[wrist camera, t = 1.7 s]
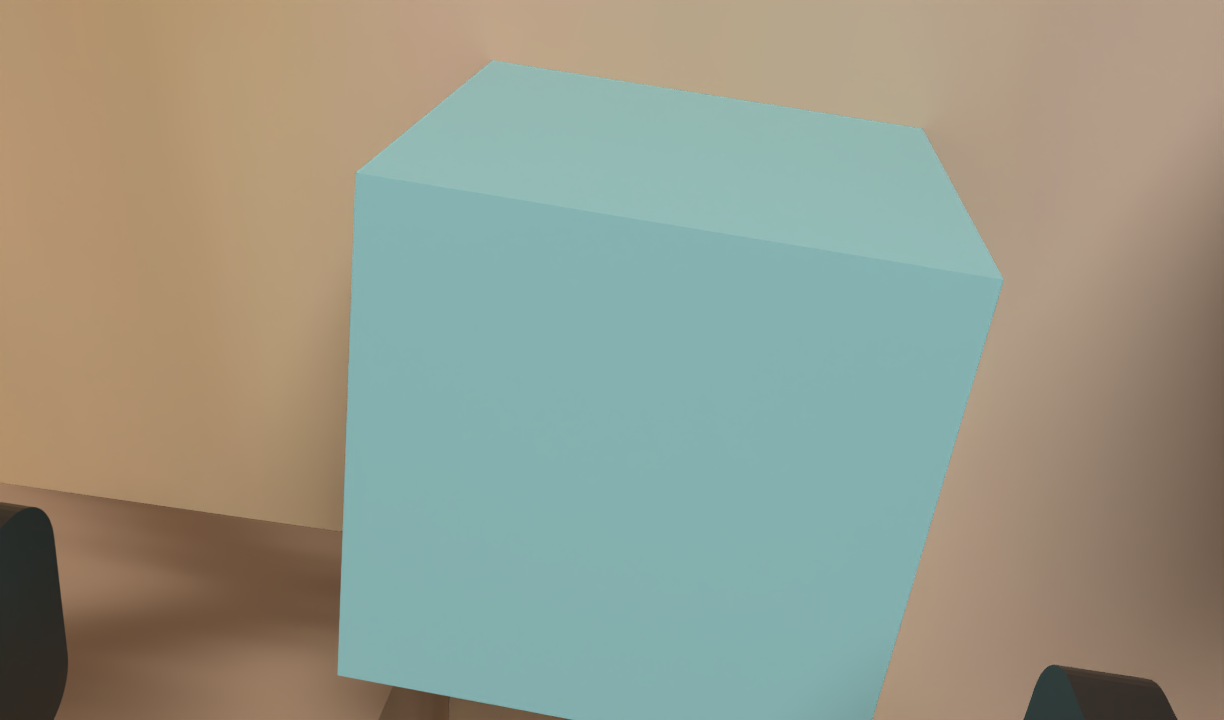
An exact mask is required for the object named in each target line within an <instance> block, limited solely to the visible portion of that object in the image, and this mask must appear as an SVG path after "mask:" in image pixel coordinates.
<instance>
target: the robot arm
mask: <svg viewBox="0 0 1224 720" xmlns="http://www.w3.org/2000/svg"><path fill="white" fill-rule="evenodd" d="M67 673H68V652H67V643H66V634H65V626H64V617H63V608H62V599H61V591H60V582H59V573H58V565H57V556H56V547H55V539H54V532H53V527H52V524H51V521H50V519H49V517H48V516H47V514H46V513H45V512H44V511H43V510H41V509H39V508H37V507H31V506H24V505H18V504H11V503H4V502H0V720H54V718H55V716H56V714H57V711H58V709H59V706H60V703H61V700H62V697H63V694H64V690H65V685H66V680H67ZM1024 720H1177V718H1176V716H1175V714H1174V712H1173V710H1172V708H1171V706H1170V704H1169V702H1168V700H1167V698H1166V696H1165V694H1164V692H1163V691H1162V689H1161V688H1160V687H1159V686H1158V685H1157V683H1155V682H1154V681H1152V680H1149V679H1145V678H1138V677H1131V676H1125V675H1118V674H1112V673H1105V672H1098V671H1092V670H1085V669H1079V668H1072V667H1065V666H1059V665H1051V666H1049V667H1047V668H1046V669H1045V670H1044V671H1043V672H1042V674H1041V675H1040V677H1039V679H1038V681H1037V683H1036V686H1035V688H1034V691H1033V694H1032V697H1031V700H1030V703H1029V706H1028V709H1027V712H1026V715H1025V717H1024Z"/></svg>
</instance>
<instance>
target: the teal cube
mask: <svg viewBox="0 0 1224 720" xmlns="http://www.w3.org/2000/svg"><path fill="white" fill-rule="evenodd" d="M1003 280H1004V279H1003V277H1002V275H1001V274H1000V272H999V270H998V268H997V266H996V264H995V262H994V261H993V259H992V257H991V255H990V253H989V251H988V249H987V248H986V246H985V244H984V242H983V240H982V238H981V236H980V235H979V233H978V231H977V229H976V227H975V225H974V224H973V222H972V220H971V218H970V216H969V214H968V212H967V211H966V209H965V207H964V205H963V203H962V201H961V199H960V198H959V196H958V194H957V192H956V190H955V188H954V186H953V185H952V183H951V181H950V179H949V177H948V175H947V174H946V172H945V170H944V168H943V166H942V164H941V162H940V161H939V159H938V157H937V155H936V153H935V151H934V149H933V148H932V146H931V144H930V142H929V140H928V138H927V136H926V135H925V133H924V131H923V129H922V128H916V127H910V126H904V125H897V124H891V123H885V122H878V121H872V120H866V119H859V118H853V117H847V116H840V115H834V114H828V113H822V112H815V111H809V110H803V109H796V108H790V107H784V106H777V105H771V104H765V103H759V102H752V101H746V100H740V99H733V98H727V97H721V96H714V95H708V94H702V93H695V92H689V91H683V90H677V89H670V88H664V87H658V86H651V85H645V84H639V83H632V82H626V81H620V80H613V79H607V78H601V77H595V76H588V75H582V74H576V73H569V72H563V71H557V70H550V69H544V68H538V67H532V66H525V65H519V64H513V63H506V62H500V61H494V60H492V61H491V62H490V63H489V64H487V65H486V66H485V67H484V68H482V69H481V70H480V71H479V72H478V73H476V74H475V75H474V76H473V77H472V78H470V79H469V80H468V81H467V82H465V83H464V84H463V85H462V86H461V87H459V88H458V89H457V90H456V91H454V92H453V93H452V94H451V95H450V96H448V97H447V98H446V99H445V100H443V101H442V102H441V103H440V104H439V105H437V106H436V107H435V108H434V109H433V110H431V111H430V112H429V113H428V114H426V115H425V116H424V117H423V118H422V119H420V120H419V121H418V122H417V123H415V124H414V125H413V126H412V127H411V128H409V129H408V130H407V131H406V132H405V133H403V134H402V135H401V136H400V137H398V138H397V139H396V140H395V141H394V142H392V143H391V144H390V145H389V146H387V147H386V148H385V149H384V150H383V151H381V152H380V153H379V154H378V155H376V156H375V157H374V158H373V159H372V160H370V161H369V162H368V163H367V164H366V165H364V166H363V167H362V168H361V169H359V170H358V171H357V172H356V176H355V203H354V231H353V259H352V287H351V314H350V342H349V370H348V397H347V425H346V453H345V481H344V508H343V536H342V564H341V592H340V619H339V647H338V675H339V676H344V677H349V678H355V679H360V680H365V681H371V682H376V683H381V684H386V685H392V686H397V687H402V688H408V689H413V690H418V691H423V692H429V693H434V694H439V695H445V696H450V697H455V698H460V699H466V700H471V701H476V702H481V703H487V704H492V705H497V706H503V707H508V708H513V709H518V710H524V711H529V712H534V713H539V714H545V715H550V716H555V717H561V718H566V719H571V720H872V719H873V715H874V712H875V709H876V705H877V702H878V699H879V695H880V692H881V689H882V685H883V682H884V678H885V675H886V672H887V668H888V665H889V662H890V658H891V655H892V652H893V648H894V645H895V642H896V638H897V635H898V632H899V628H900V625H901V622H902V618H903V615H904V612H905V608H906V605H907V602H908V598H909V595H910V591H911V588H912V585H913V581H914V578H915V575H916V571H917V568H918V565H919V561H920V558H921V555H922V551H923V548H924V545H925V541H926V538H927V535H928V531H929V528H930V525H931V521H932V518H933V515H934V511H935V508H936V504H937V501H938V498H939V494H940V491H941V488H942V484H943V481H944V478H945V474H946V471H947V468H948V464H949V461H950V458H951V454H952V451H953V448H954V444H955V441H956V438H957V434H958V431H959V428H960V424H961V421H962V417H963V414H964V411H965V407H966V404H967V401H968V397H969V394H970V391H971V387H972V384H973V381H974V377H975V374H976V371H977V367H978V364H979V361H980V357H981V354H982V351H983V347H984V344H985V341H986V337H987V334H988V330H989V327H990V324H991V320H992V317H993V314H994V310H995V307H996V304H997V300H998V297H999V294H1000V290H1001V287H1002V284H1003Z"/></svg>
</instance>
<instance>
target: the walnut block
mask: <svg viewBox="0 0 1224 720" xmlns="http://www.w3.org/2000/svg"><path fill="white" fill-rule="evenodd" d="M0 502H4V503H11V504H18V505H24V506H31V507H37V508H39V509H41V510H43V511H44V512H45V513H46V514H47V516H48V517H49V519H50V521H51V524H52V527H53V532H54V539H55V547H56V556H57V565H58V573H59V582H60V591H61V599H62V608H63V617H64V626H65V634H66V643H67V652H68V673H67V680H66V685H65V690H64V694H63V697H62V700H61V703H60V706H59V709H58V711H57V714H56V716H55V718H54V720H449V696H445V695H439V694H434V693H429V692H423V691H418V690H413V689H408V688H402V687H397V686H392V685H386V684H381V683H376V682H371V681H365V680H360V679H355V678H349V677H344V676H339V675H338V647H339V619H340V592H341V564H342V536H343V532H338V531H331V530H325V529H318V528H311V527H304V526H297V525H290V524H283V523H276V522H269V521H262V520H255V519H248V518H241V517H234V516H227V515H220V514H213V513H207V512H200V511H193V510H186V509H179V508H172V507H165V506H158V505H151V504H144V503H137V502H130V501H123V500H116V499H109V498H102V497H95V496H89V495H82V494H75V493H68V492H61V491H54V490H47V489H40V488H33V487H26V486H19V485H12V484H5V483H0Z"/></svg>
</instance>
